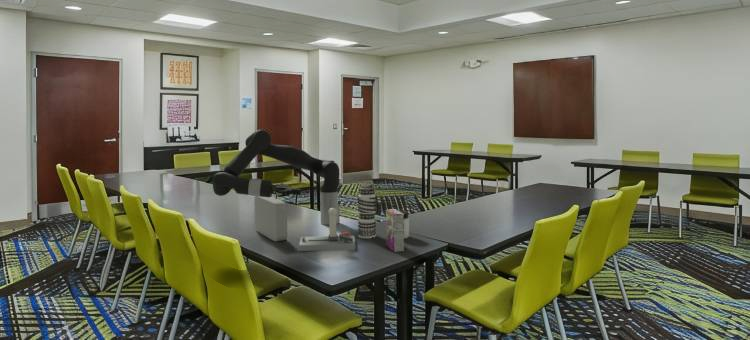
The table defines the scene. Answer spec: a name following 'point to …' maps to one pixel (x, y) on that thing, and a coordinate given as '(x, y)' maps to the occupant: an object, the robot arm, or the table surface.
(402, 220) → the candy bar box
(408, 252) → the table surface
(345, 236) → the rocker
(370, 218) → the decorative candle
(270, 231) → the rounded white slab
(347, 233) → the button
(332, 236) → the slide lever
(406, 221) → the jar
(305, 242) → the switch console
